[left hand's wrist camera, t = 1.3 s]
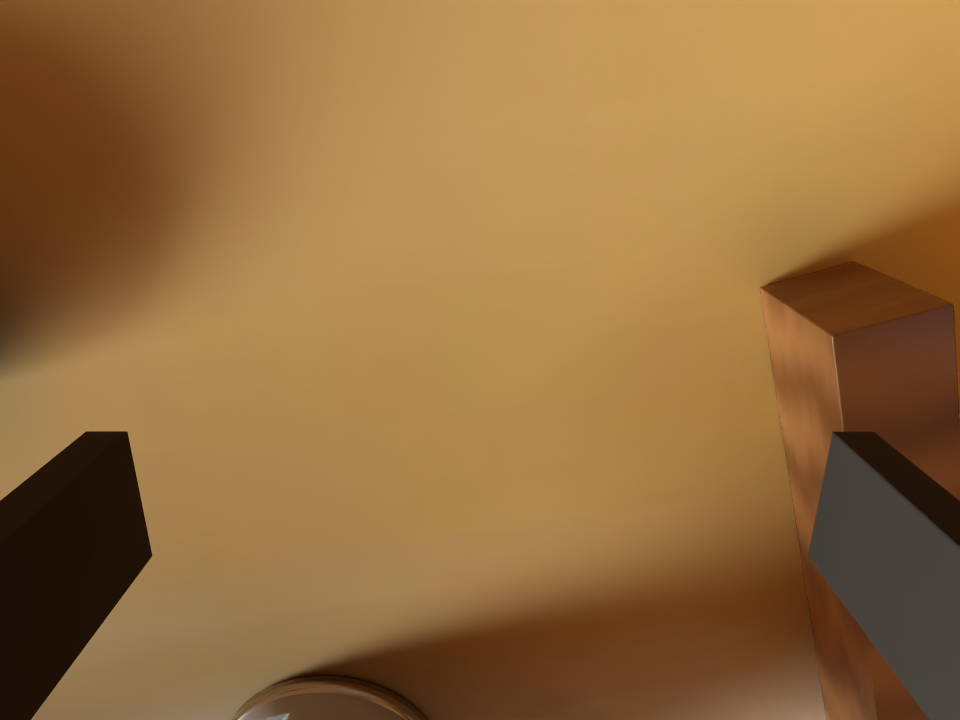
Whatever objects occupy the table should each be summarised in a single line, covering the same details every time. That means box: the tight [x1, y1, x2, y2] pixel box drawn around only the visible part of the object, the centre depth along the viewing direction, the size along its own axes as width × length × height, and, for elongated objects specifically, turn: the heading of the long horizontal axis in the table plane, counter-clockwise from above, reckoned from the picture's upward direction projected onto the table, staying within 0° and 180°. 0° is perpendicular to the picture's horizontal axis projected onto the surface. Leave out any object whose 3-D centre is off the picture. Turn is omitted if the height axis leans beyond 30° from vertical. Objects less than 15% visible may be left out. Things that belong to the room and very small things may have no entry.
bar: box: [760, 262, 960, 720], centre depth 37 cm, size 33×5×8 cm, turn 17°
